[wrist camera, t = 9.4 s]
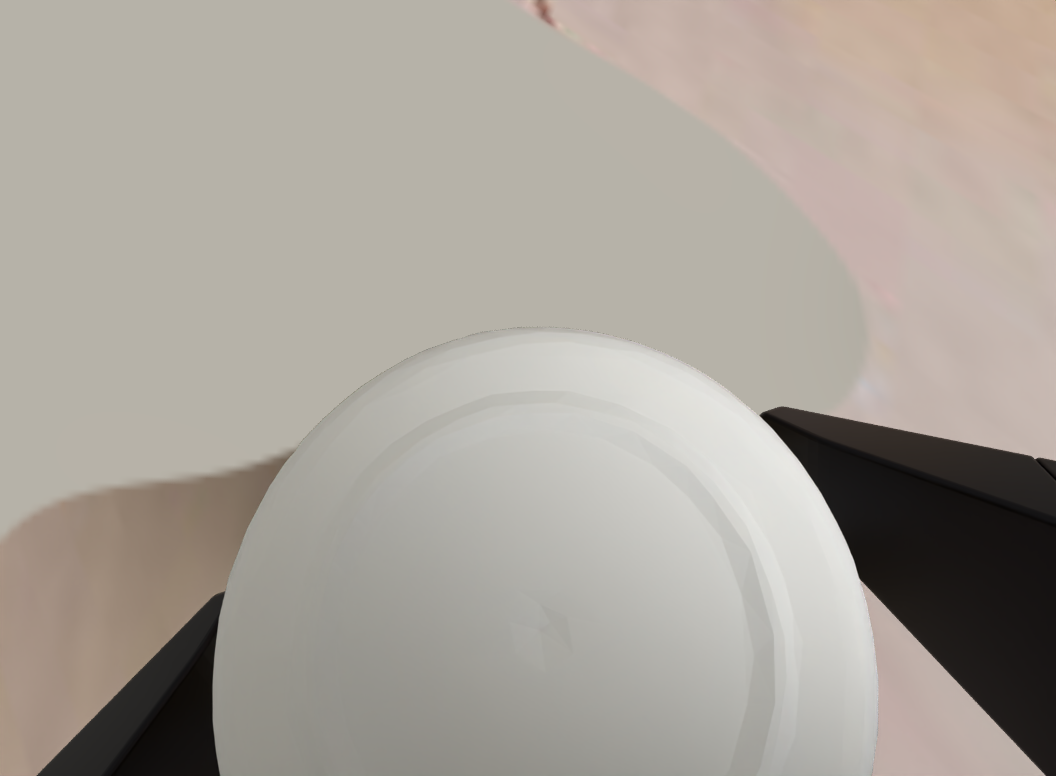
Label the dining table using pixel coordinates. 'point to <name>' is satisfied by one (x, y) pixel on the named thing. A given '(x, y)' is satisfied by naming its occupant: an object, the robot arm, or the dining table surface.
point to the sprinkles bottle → (544, 581)
